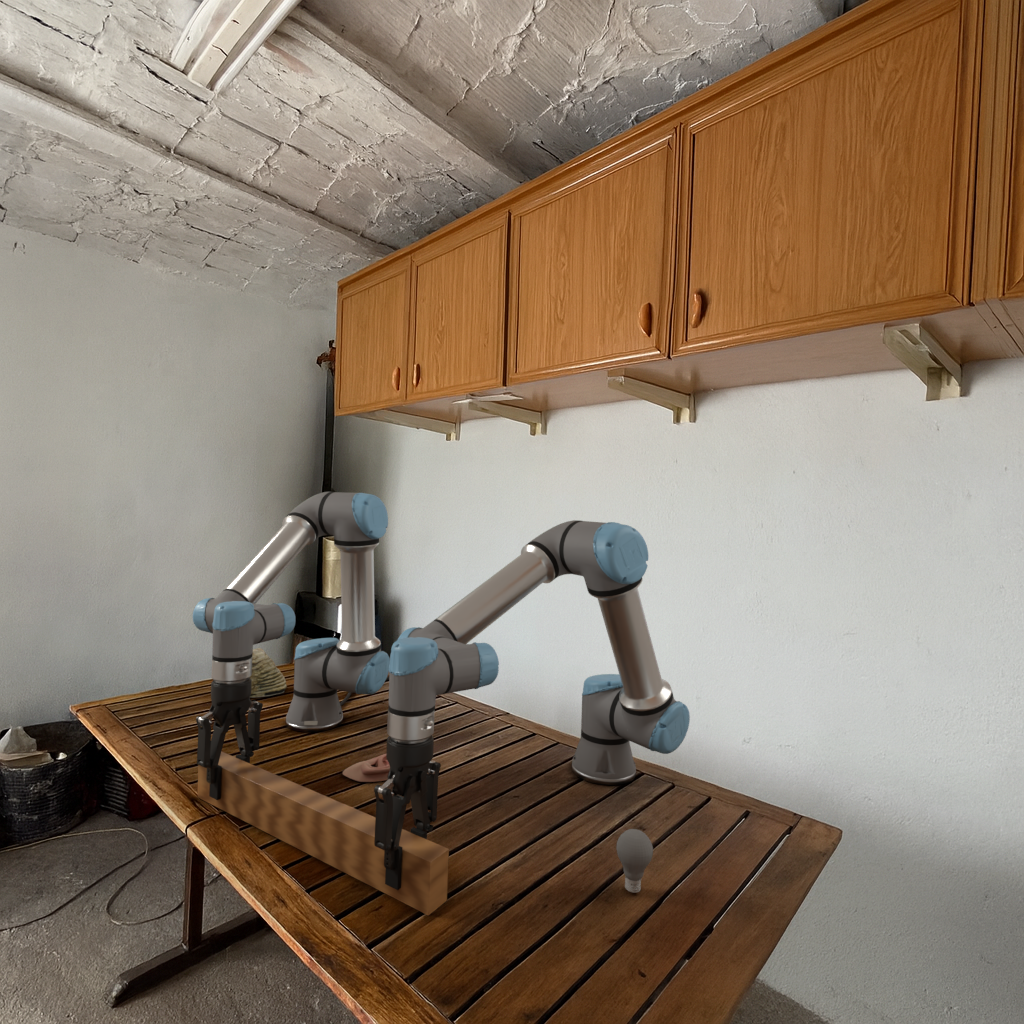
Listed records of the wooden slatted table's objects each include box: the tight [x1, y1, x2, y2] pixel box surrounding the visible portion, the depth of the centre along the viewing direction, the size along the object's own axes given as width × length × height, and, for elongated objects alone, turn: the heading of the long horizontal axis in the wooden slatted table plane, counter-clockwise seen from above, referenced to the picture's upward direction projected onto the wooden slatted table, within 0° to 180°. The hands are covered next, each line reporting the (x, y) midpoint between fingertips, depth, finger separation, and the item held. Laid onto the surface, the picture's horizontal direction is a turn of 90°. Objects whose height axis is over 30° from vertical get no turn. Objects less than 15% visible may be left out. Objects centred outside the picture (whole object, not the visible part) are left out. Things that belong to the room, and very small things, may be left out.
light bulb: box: [615, 828, 654, 894], centre depth 106 cm, size 6×6×10 cm
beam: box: [197, 751, 450, 916], centre depth 116 cm, size 62×5×8 cm, turn 57°
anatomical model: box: [342, 753, 390, 783], centre depth 146 cm, size 13×4×12 cm
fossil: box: [249, 647, 288, 699], centre depth 198 cm, size 9×18×15 cm, turn 132°
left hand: (227, 792), depth 129 cm, fingers open, 5 cm apart
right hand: (405, 877), depth 103 cm, fingers open, 5 cm apart
